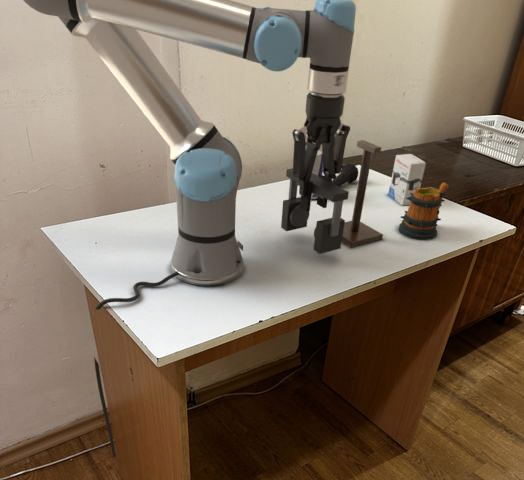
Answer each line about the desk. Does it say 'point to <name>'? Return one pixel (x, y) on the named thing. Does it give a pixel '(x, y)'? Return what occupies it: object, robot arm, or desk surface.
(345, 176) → the microphone
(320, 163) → the energy drink
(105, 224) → the desk surface
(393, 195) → the ink box
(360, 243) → the stand
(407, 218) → the mug
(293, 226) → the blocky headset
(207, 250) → the robot arm
